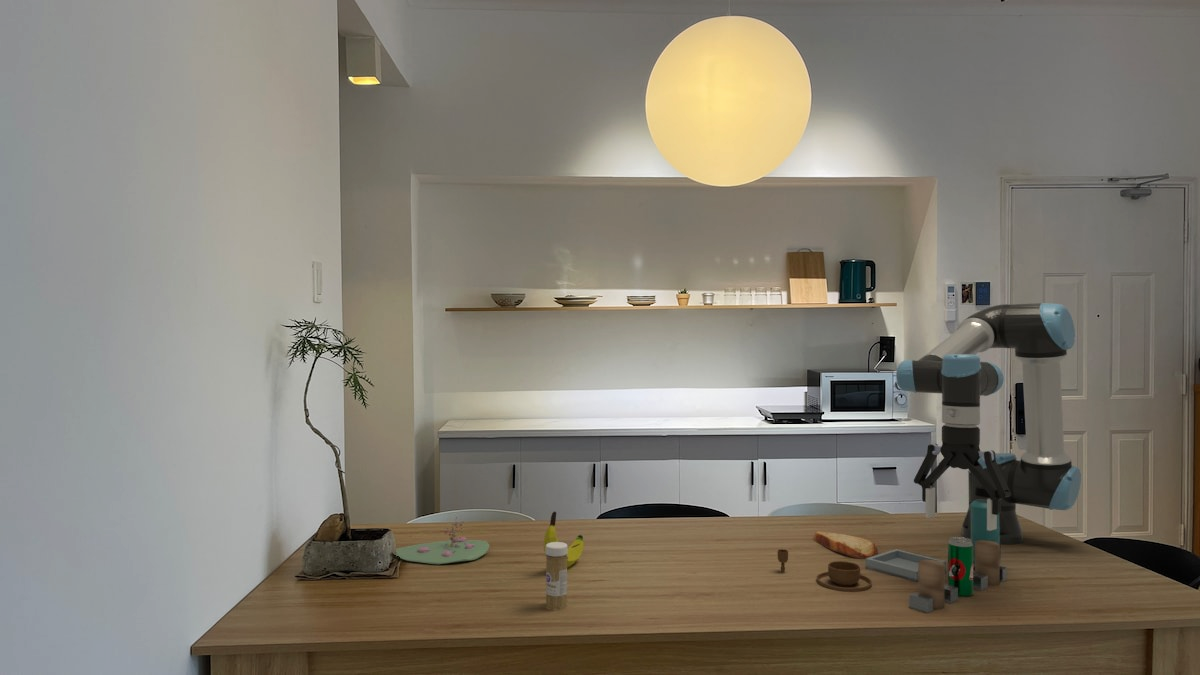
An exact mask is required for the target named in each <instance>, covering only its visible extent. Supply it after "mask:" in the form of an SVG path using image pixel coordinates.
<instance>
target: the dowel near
mask: <svg viewBox="0 0 1200 675" xmlns="http://www.w3.org/2000/svg"><path fill="white" fill-rule="evenodd" d="M945 572H946V571H945V565H944V563H942V562H939V561H934V560H920V561H919V562H918V582H917V583H918V590H917V593H918V594H921V595H925V596H928V597H932V598H933V610H943V609H944V608H945V602H944V591H945V584H946V583H945V577H946V576H945V574H946V573H945Z"/></svg>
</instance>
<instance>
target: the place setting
mask: <svg viewBox="0 0 1200 675" xmlns="http://www.w3.org/2000/svg"><path fill="white" fill-rule="evenodd" d="M788 550H789V549H788ZM788 550H787V549H782V548H781V549H777V561H778V562H779V563H780V571H781V573H785V571H786V567H785V564H786V563H787V562H788V561H789V551H788ZM826 577H828V578H829V579H830V581H832V582H833V583H835V584H836V585H837V586H836V585H832V584H829V583H826V582H823V581H821V579H822V578H826ZM860 580H862V581H864V582H866V583H868V585H865V586H860V587H852V586H853V585H855V584H857V583H858V582H860ZM816 581H817V583H818V585H820V586H822V587H823V588H826V589H830V590H833V591H839V592H848V593H850V592H851V593H853V592H854V593H855V592H863V591H868V590H869V589H871V587H872V585H873V581H872V579H870V578H869V577H867V576H866V574H863V573H861V567H860V565H858V564H857V563H854V562H850V561H841V560H840V561H838V560H837V561H831V562H829V563H828V564H827V571H824V572H821V573H818V574H817V576H816ZM843 586H844V587H843Z"/></svg>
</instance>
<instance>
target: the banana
mask: <svg viewBox="0 0 1200 675" xmlns="http://www.w3.org/2000/svg"><path fill="white" fill-rule="evenodd" d="M556 519H557V511H553V512H552V514H551V517H550V522H549V526H548V528H547V529H546V532H545V535H544V540H543V551H544V552H545V549H546V544H548V543H551V542H560V541H559V539H558V538H557V534H556V522H557V521H556ZM584 545H585V544H584V538H583V535H582V534H579V535H577V537H576V538H575V540H574V541H573V542H572V544H571V545H570V546H569V547H567V548H568V553H567V569H568V568H570V567H572V566H573V565H574V564H575V563H576V562H577V561H578V560H579V559H580V558H581V557H580V556H582V554H583V550H584Z"/></svg>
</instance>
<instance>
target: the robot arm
mask: <svg viewBox="0 0 1200 675" xmlns="http://www.w3.org/2000/svg"><path fill="white" fill-rule="evenodd" d="M1075 337H1076V330H1075V324H1074V320H1073V317H1072V314H1071V313H1070V311H1069V309H1068V308H1067V307H1066V306H1065V305H1063V304H1061V303H1049V302H1048V303H1047V302H1039V303H1038V302H1036V303H1035V302H1034V303H1014V304H1013V303H1012V304H1006V303H1005V304H1003V303H1002V304H997V305H993V306H989V307H986V308H983V309H981V310H979V311H977V312H975V313H973V314H971V315H969V316H968V317H966V318H965V319H963V320H961V322H960V323H959V324H958V326H957V328H956V330H955V331H954V332H953V333H952V334H950V335H949V336H948V337H947V338H945V339H944V340H943V341H941V342H940V343H939V344H938V345H936V346H935V347H934V348H932V349H930V351H929V352H927V353H926V354H924V355H923V356H922V357H920V358H919V359H918V360H914V359H910V360H903V361H901V362H900V363H899V364H898V366H897V369H896V375H895V376H896V382H897V386H898V387H899V389H900V390H902V391H905V392H912V393H916V394H917V393H926V394H941V422H942V423H943V424H944V425H942V427H941V442H942V444H941V446H940V445H938V443H932V444H928V445H927V450H926V454H925V457H924V459H923V460H922V462H921V465H920V467H919V469H918V471H917V473H916V475H915V477H914V478H913V483H915V485H916V484H917V485H919V486H920V487H921V488H922V490H921V494H922V495H921V497H922V499H921V500H922V502H924V503H925V519H931V518H935V517H936V487H933V486H934V484H935V483H936V482H937V480H938V479H939V478H940V477H942V475H943V474H944V473H945V472H946V471H947V470H948V469H949V468H950V467H951V469H961V470H968V471H967V473H968V508H967V512H966V513H965V514H966V515H965V517H964V520H963V523H962V525H961V537H965V538H968V539H971V536H970V535H971V506H970V504H971V503H972V502H973V501H975V500H977V499H986V500H987V530H989V531H991V530H995V529H997V515H999V526H1000V540H1001V541H1000V543H1001V546H1003V545H1009V546H1010V545H1018V544H1021V543H1022V542H1023V541H1024V533H1023V532H1024V531H1023V529H1022V527H1021V524H1020V521H1019V518H1018V515H1017V511H1016V510H1017V509H1016V506H1017V504H1018V505H1021V506H1030V507H1036V508H1042V509H1048V510H1051V511H1052V510H1058V511H1069V510H1070V509H1072V508H1073V506H1074V505H1075V503H1076V501H1077V498H1078V496H1079V492H1080V490H1081V481H1082V473H1081V469H1080V468H1079V467H1078V466H1075V465H1073V463H1072V457H1071V456H1070V455H1069V454H1068V453H1067V452H1065V442H1064V441H1065V438H1064V419H1063V396H1062V395H1063V394H1062V378H1061V377H1062V374H1061V373H1062V372H1061V362H1062V360H1063V359H1065V358H1066V356H1067V354H1068V353H1067V352H1068V350H1070V349H1073V346H1074V345H1075V341H1076V340H1075ZM989 349H1014V353H1015V354H1014V356H1015V358H1017V359H1018V360H1019V361H1020V362H1021V364H1022V365H1021V366H1022V382H1023V383H1022V385H1023V386H1022V387H1023V402H1024V405H1023V406H1024V420H1025V421H1024V422H1025V445H1026V451H1025V452H1024V453H1022V454H1021V455H1020V460H1018V459H1017V457H1016V454H1014V453H1010V452H1009V453H1008V452H1006V453H1005V452H997V453H996V452H995V450H987V451H984V450H983V451H982V450H981V449H980V443H981V429H980V427H979V425H980V424H981V408H980V407H981V396H982V397H983V396H984V397H986V396H991V395H992V394H995V393H997V392H998V391H1000V389H1001V388H1002V386H1003V384H1004V381H1005V380H1004V379H1005V378H1004V374H1003V371H1002V369H1001V368H1000V367H999V366H997V365H996V364H995V363H992V362H988V361H981V358H980V356H979V355H977V354H978V353H983V352H986V351H987V350H989ZM939 455H942V457H943V458H942V459H941V461H939V463H938V465H937V466H936V467H935V468H934V470H932V471H931V469H932V467H933V465H934V463H935V461H936V459H937V457H938V456H939ZM930 471H931V472H930ZM928 474H929V475H928ZM976 486H983V487H984V489H985V490H986V491H987V493H988V494H989V495H990V497H981V496H976V495H975V489H976Z"/></svg>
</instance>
